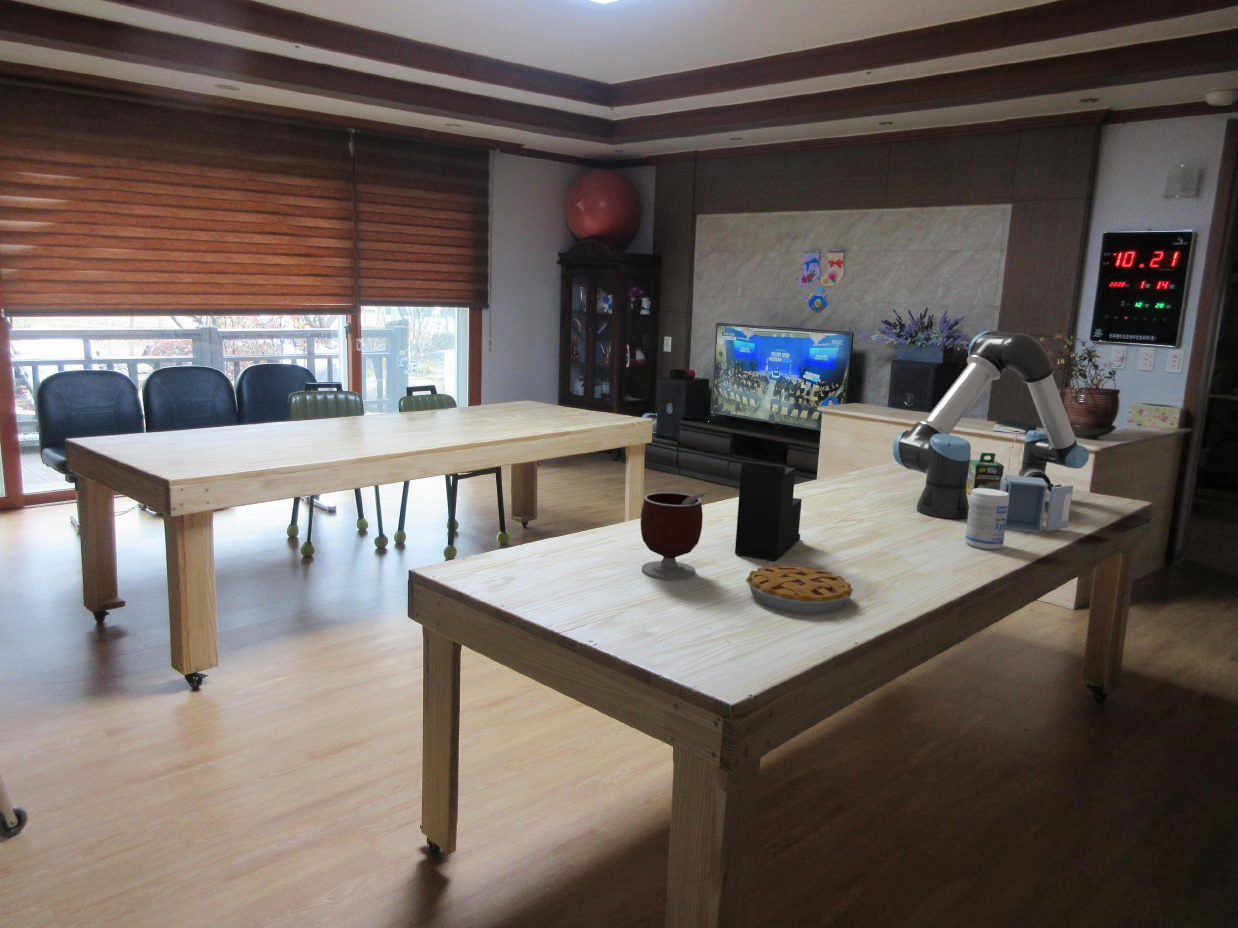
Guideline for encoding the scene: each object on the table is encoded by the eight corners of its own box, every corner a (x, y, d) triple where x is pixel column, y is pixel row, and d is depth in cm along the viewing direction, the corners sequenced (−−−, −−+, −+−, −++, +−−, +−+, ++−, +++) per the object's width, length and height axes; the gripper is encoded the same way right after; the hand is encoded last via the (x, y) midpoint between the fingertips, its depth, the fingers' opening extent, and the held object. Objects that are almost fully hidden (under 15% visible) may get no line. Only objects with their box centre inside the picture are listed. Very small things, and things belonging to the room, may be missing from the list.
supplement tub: (1000, 552, 230) (1007, 497, 227) (961, 546, 235) (968, 492, 232) (1004, 544, 238) (1011, 491, 236) (967, 538, 243) (974, 485, 240)
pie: (800, 624, 174) (802, 600, 173) (724, 591, 191) (726, 569, 190) (872, 605, 186) (874, 583, 185) (795, 576, 204) (796, 555, 203)
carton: (998, 528, 255) (1005, 480, 253) (995, 520, 265) (1001, 474, 262) (1040, 532, 252) (1047, 484, 250) (1035, 524, 262) (1042, 478, 259)
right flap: (1048, 530, 252) (1054, 488, 249) (1045, 530, 252) (1051, 487, 250) (1067, 527, 257) (1073, 485, 254) (1064, 526, 257) (1070, 484, 255)
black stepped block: (761, 533, 238) (767, 447, 234) (801, 540, 234) (808, 452, 229) (733, 555, 217) (740, 461, 213) (776, 562, 213) (784, 466, 208)
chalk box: (992, 493, 303) (997, 450, 300) (1000, 499, 294) (1006, 455, 291) (964, 491, 304) (969, 449, 301) (972, 497, 295) (977, 453, 292)
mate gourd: (625, 569, 202) (629, 484, 198) (666, 558, 212) (671, 476, 208) (676, 587, 191) (681, 497, 187) (717, 575, 201) (723, 489, 197)
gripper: (1056, 495, 290) (1069, 511, 268) (1013, 491, 294) (1022, 506, 272) (1059, 473, 289) (1072, 487, 266) (1016, 469, 292) (1025, 482, 270)
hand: (1047, 497), depth 269 cm, fingers closed
